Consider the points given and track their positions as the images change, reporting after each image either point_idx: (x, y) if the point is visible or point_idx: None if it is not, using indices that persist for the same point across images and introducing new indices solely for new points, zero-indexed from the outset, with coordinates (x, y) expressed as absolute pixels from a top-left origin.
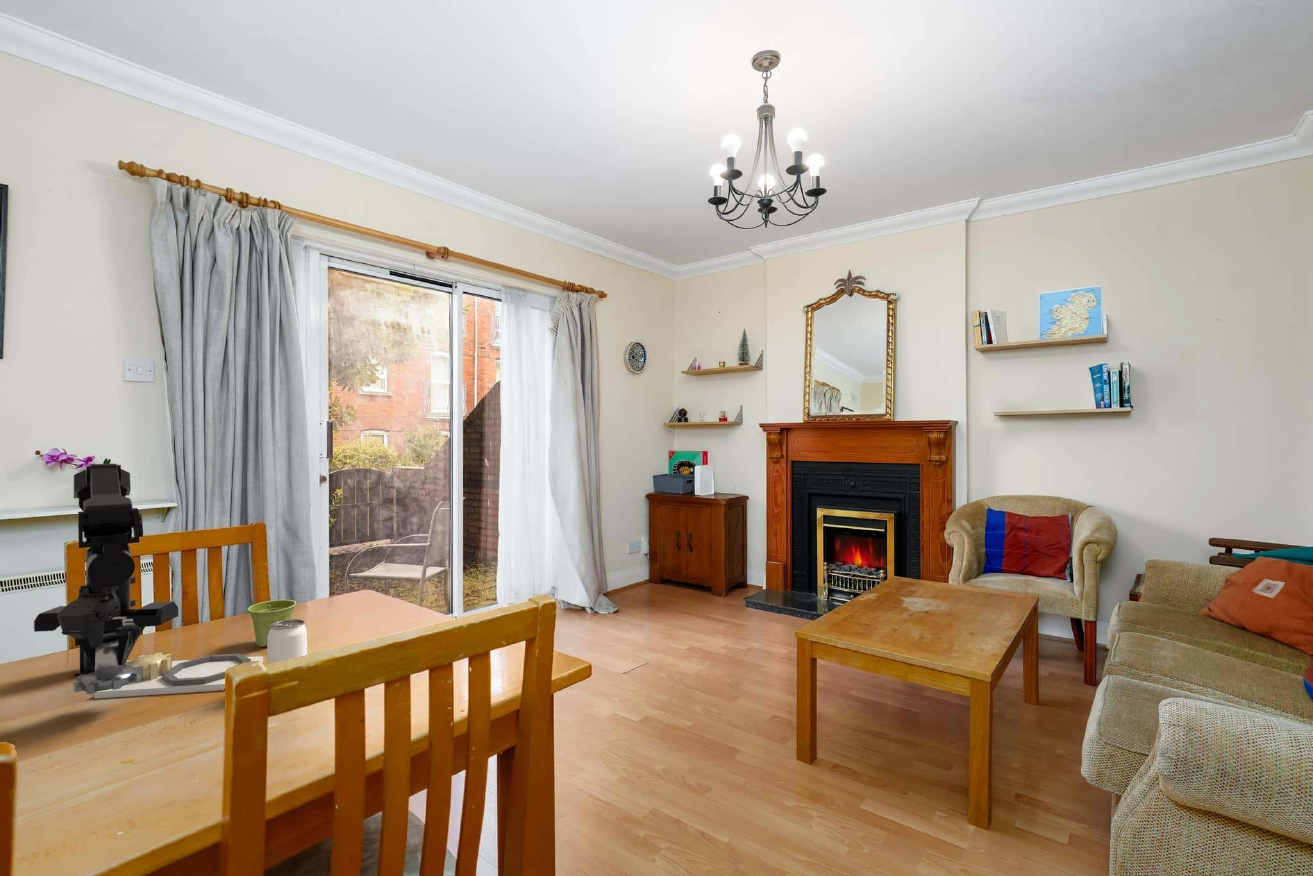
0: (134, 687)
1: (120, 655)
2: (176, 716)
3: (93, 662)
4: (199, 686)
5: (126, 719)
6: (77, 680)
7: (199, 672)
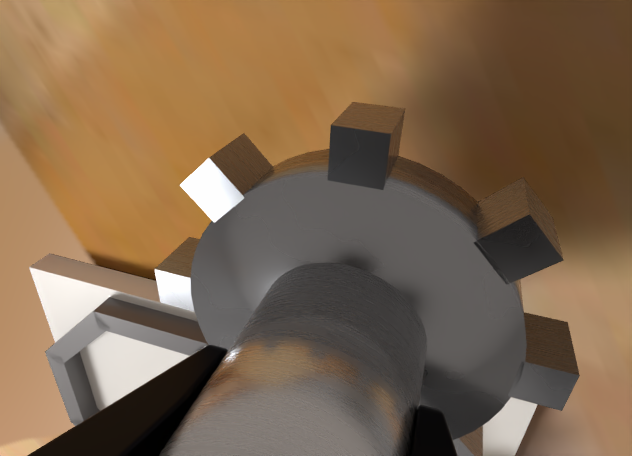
0: None
1: (145, 406)
2: (59, 40)
3: (423, 439)
4: (123, 289)
5: (258, 70)
6: (570, 352)
7: None
